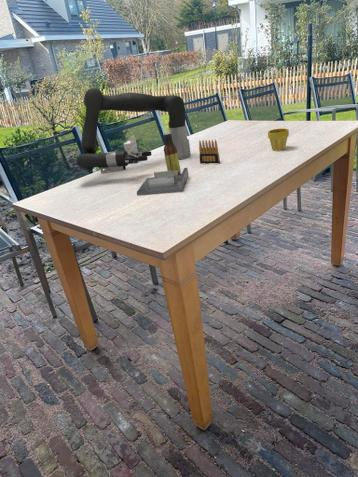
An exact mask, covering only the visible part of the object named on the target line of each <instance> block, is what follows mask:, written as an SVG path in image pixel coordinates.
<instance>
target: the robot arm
mask: <svg viewBox="0 0 358 477" xmlns="http://www.w3.org/2000/svg"><path fill="white" fill-rule="evenodd" d="M184 102H185V101H184V99H183V97H181V96H179V95H177V94H176V95H174V94H171V95H151V94H147V93H140V92H124V93H119V94H114V95H113V94H112V95H110V94H109V95H107V94H103V93H102V91H101V90H100V89H99V88H97V87H90V88H89V89H88V90H87V91H86V92H85V94H84V97H83V104H84V107H85V118H84V124H83V127H82V134H81V143H80V147H81V148H80V149H81V150H82V152H83V153H82V154H80V155H78V156H77V157H76V164H77V166H78V167H79V168H81V169H82V170H84V171H89V172H90V171H92V170H93V169H95V168H99V169H100V168H107V167H122V166H126V167H127V166H129V164H130V165H131V164H138V163H140V162H144V161H145V162H146V161H148V157H151V156H152V155H153V154H152V151H151V150H150V151H149V150H148V151H144V150H138V151H136V152H132V153H130V154H128V153H127V152H126V151H125V149H124V150H117V151H116V150H115V151H109V153H108V152H103V153H96V145H97V136H98V126H99V125H98V124H99V117H100V113H101V111H118V112H133V113H145V112H154V111H159V112H165V113H168V119H169V120H168V124H167V125H168V131H169V132H168V133H171V134H172V141H173V144H174V146H175V147H176V149H177V153H178V159H179V160H184V159H188V158H189V157H192V155H191V147H190V139H189V138H188V134H187V128H186V120H187V118H186V116H187V115H186V108H185V103H184Z"/></svg>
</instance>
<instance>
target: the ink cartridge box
mask: <svg viewBox="0 0 358 477" xmlns="http://www.w3.org/2000/svg"><path fill="white" fill-rule="evenodd" d="M123 148H124V150H125V151H126V152H127V153H128V154H130V153H132V152H136V151H139V150H138V145H137V140H136V136H135V134H133V135H131V136H130V137H129V140H127V141H126V142H124V143H123Z"/></svg>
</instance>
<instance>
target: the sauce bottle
mask: <svg viewBox="0 0 358 477" xmlns="http://www.w3.org/2000/svg"><path fill="white" fill-rule="evenodd" d="M162 136H163V140H164V141H163V142H164V146H163V153H164V159H165V166H166V169H167V170H166V171H171V170H177V171H178V175H181V174H182V172H181V165H180V159H178V153H177V149H176V147H175V146H174V144H173V141H172V134H171V133H170V132H165V133H163V134H162Z"/></svg>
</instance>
